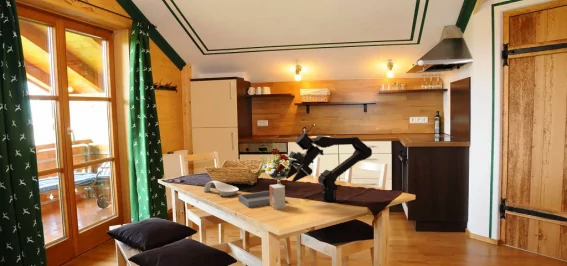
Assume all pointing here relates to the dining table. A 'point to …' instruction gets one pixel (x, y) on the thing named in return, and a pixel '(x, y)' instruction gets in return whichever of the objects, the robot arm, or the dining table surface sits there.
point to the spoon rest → (222, 188)
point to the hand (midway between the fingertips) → (289, 179)
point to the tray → (255, 199)
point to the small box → (277, 196)
